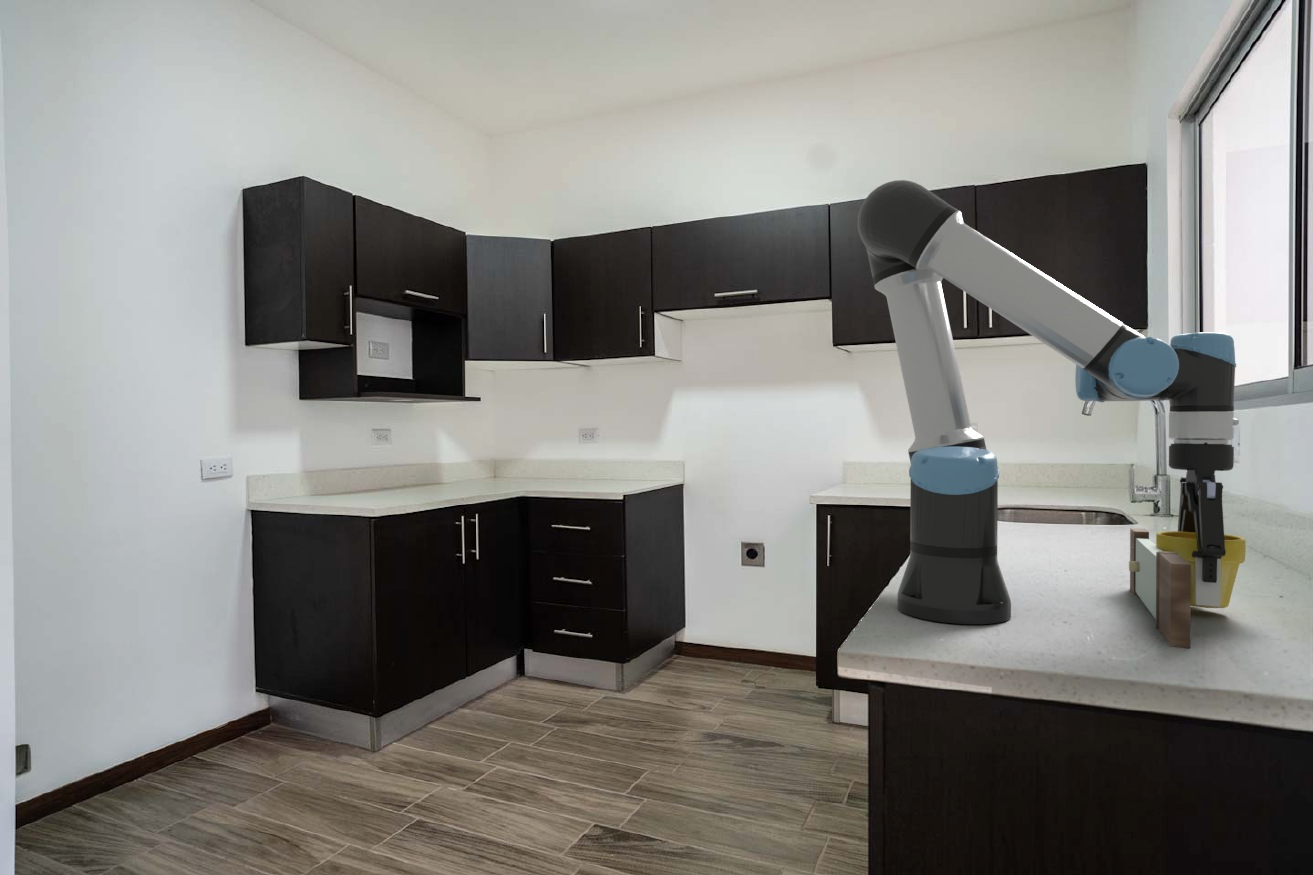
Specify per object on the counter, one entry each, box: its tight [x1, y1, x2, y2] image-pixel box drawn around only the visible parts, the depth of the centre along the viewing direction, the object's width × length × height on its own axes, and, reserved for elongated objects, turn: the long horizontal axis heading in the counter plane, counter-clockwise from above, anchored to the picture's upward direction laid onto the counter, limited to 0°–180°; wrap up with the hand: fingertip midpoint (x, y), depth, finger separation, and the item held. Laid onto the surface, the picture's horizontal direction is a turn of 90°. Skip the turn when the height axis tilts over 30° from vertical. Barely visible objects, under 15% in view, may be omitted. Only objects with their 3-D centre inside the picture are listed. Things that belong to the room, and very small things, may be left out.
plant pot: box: [1155, 530, 1247, 609], centre depth 108 cm, size 10×10×10 cm
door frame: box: [1129, 527, 1192, 649], centre depth 107 cm, size 2×36×10 cm, turn 155°
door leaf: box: [1128, 538, 1162, 620], centre depth 110 cm, size 3×21×8 cm, turn 154°
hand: (1198, 597), depth 108 cm, fingers closed on plant pot, 10 cm apart
